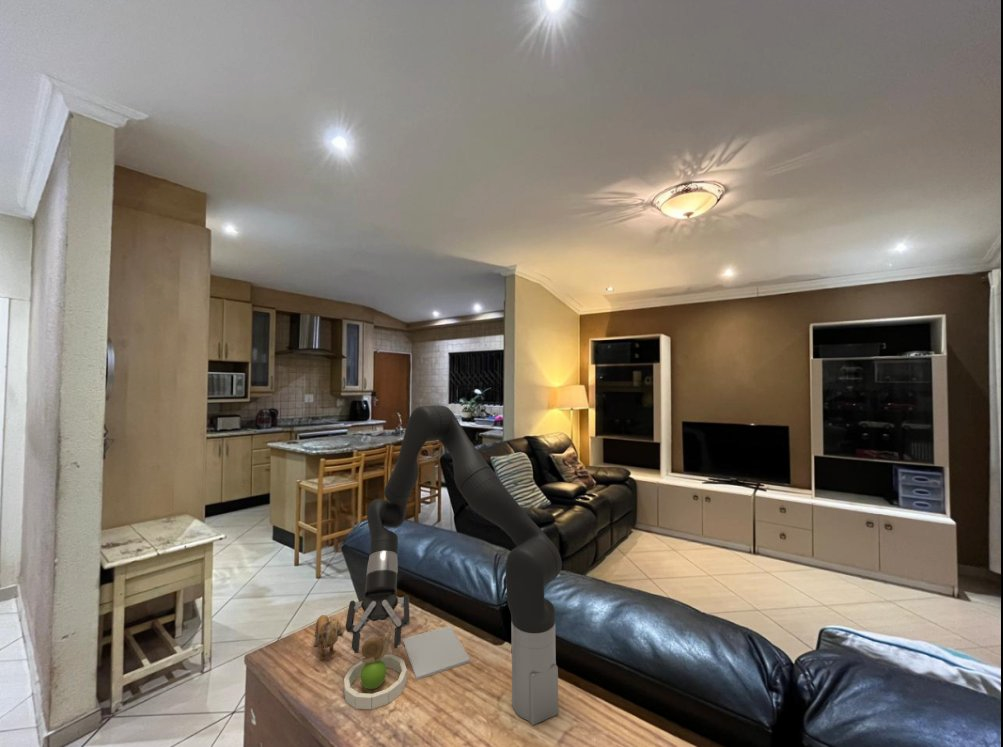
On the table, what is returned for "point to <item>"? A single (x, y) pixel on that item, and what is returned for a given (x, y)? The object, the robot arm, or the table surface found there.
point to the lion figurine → (327, 634)
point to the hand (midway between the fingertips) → (376, 650)
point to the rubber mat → (435, 652)
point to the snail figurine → (374, 661)
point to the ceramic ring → (379, 697)
